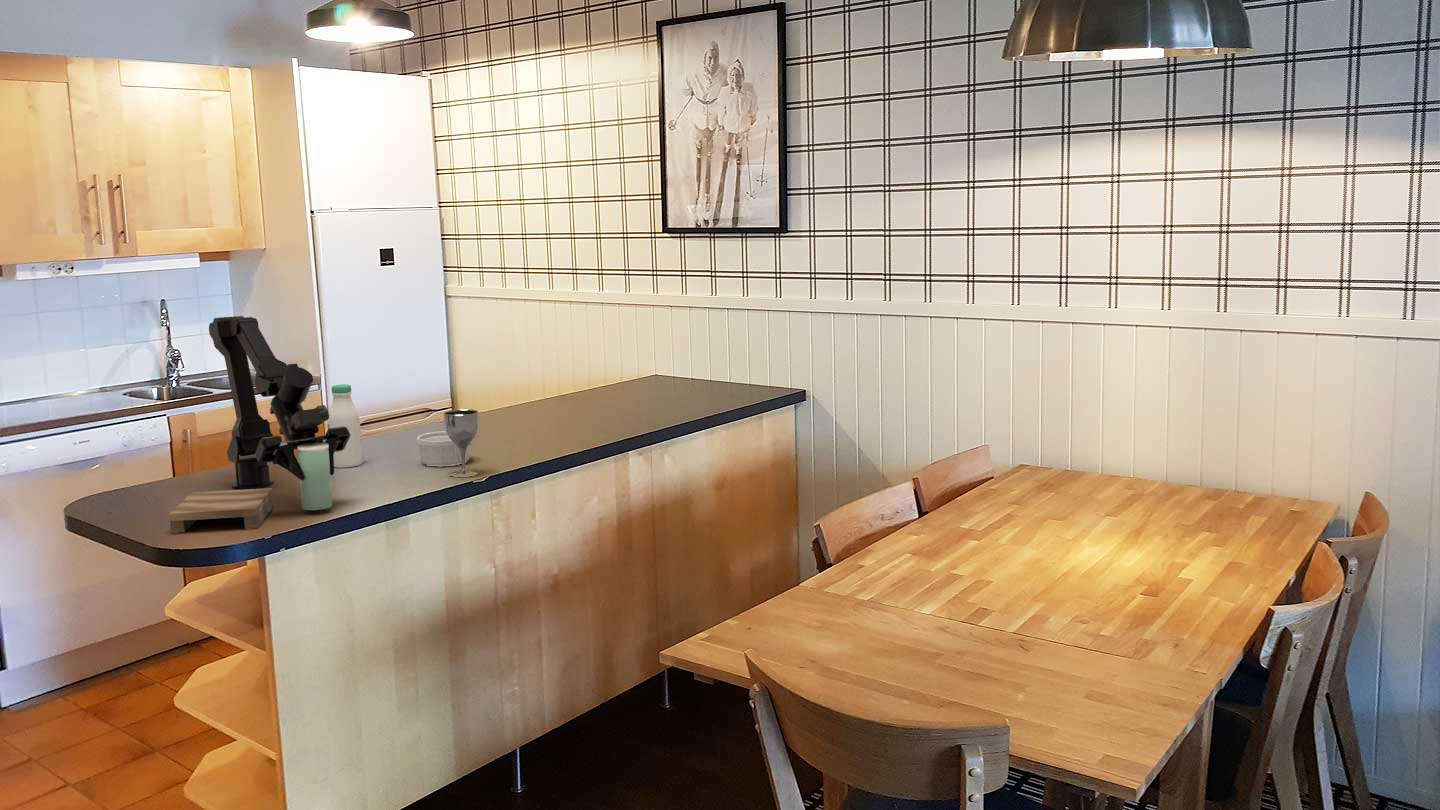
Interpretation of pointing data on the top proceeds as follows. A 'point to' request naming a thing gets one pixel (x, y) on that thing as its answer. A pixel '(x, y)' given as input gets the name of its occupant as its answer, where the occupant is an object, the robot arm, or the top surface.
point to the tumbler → (315, 476)
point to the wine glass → (461, 430)
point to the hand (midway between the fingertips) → (318, 476)
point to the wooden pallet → (223, 507)
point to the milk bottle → (349, 418)
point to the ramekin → (439, 449)
